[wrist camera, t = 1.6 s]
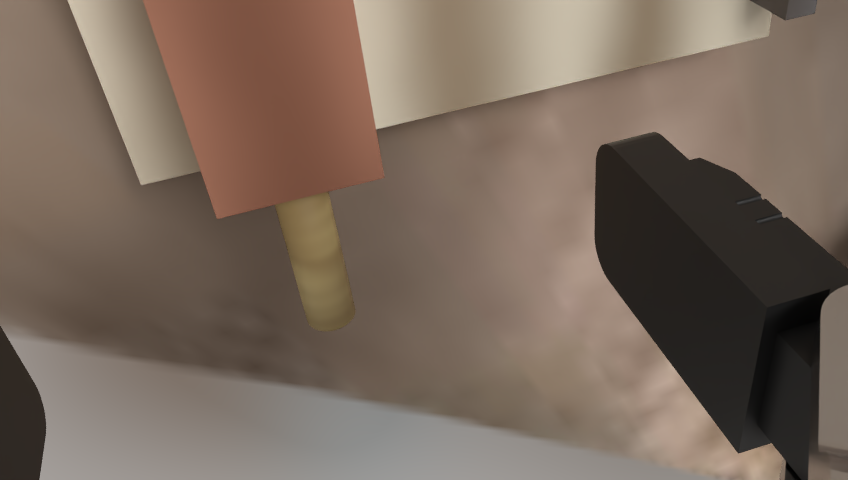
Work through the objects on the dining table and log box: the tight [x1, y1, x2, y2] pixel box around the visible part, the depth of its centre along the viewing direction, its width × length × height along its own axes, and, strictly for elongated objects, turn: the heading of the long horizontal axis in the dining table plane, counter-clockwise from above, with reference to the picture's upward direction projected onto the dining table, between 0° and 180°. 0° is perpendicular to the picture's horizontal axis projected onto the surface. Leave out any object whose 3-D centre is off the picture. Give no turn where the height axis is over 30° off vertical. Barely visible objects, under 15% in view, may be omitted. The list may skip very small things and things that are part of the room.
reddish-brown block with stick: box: [143, 0, 384, 331], centre depth 20 cm, size 4×12×6 cm, turn 7°
